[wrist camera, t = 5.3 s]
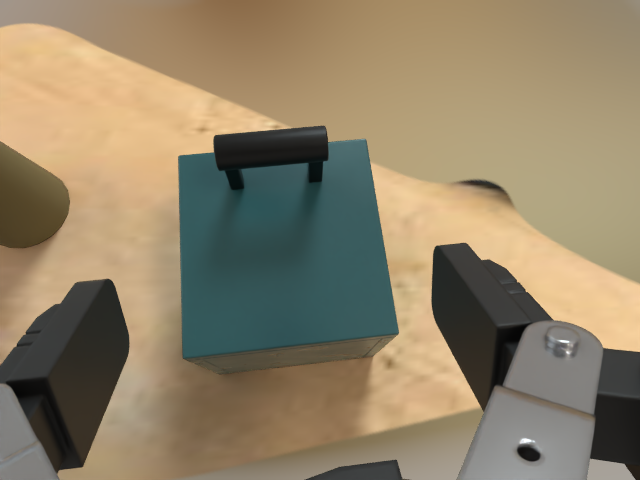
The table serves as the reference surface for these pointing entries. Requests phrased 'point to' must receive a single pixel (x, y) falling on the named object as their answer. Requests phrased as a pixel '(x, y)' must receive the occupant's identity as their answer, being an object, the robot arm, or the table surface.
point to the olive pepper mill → (28, 201)
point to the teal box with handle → (280, 245)
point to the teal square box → (293, 356)
